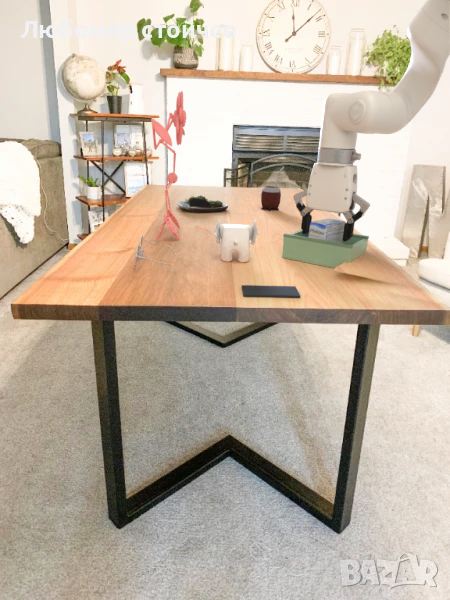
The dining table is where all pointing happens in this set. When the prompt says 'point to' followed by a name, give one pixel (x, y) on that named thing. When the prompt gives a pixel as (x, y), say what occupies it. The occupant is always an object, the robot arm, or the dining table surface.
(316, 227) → the medicine box
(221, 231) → the elephant figurine
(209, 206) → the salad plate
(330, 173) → the robot arm
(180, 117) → the figurine
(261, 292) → the mat
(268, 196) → the mate gourd
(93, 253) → the dining table surface
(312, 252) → the basket
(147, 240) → the sunglasses
